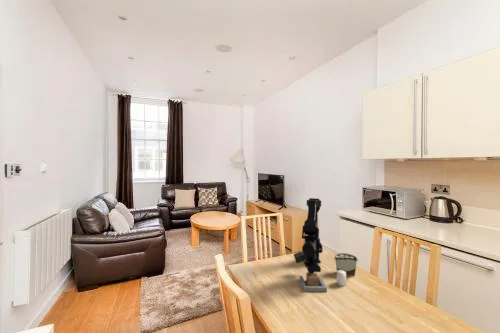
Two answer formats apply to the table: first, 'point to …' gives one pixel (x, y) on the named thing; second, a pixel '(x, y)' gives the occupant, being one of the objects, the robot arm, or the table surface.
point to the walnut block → (312, 279)
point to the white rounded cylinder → (341, 278)
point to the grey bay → (313, 288)
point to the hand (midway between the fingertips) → (310, 277)
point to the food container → (346, 263)
